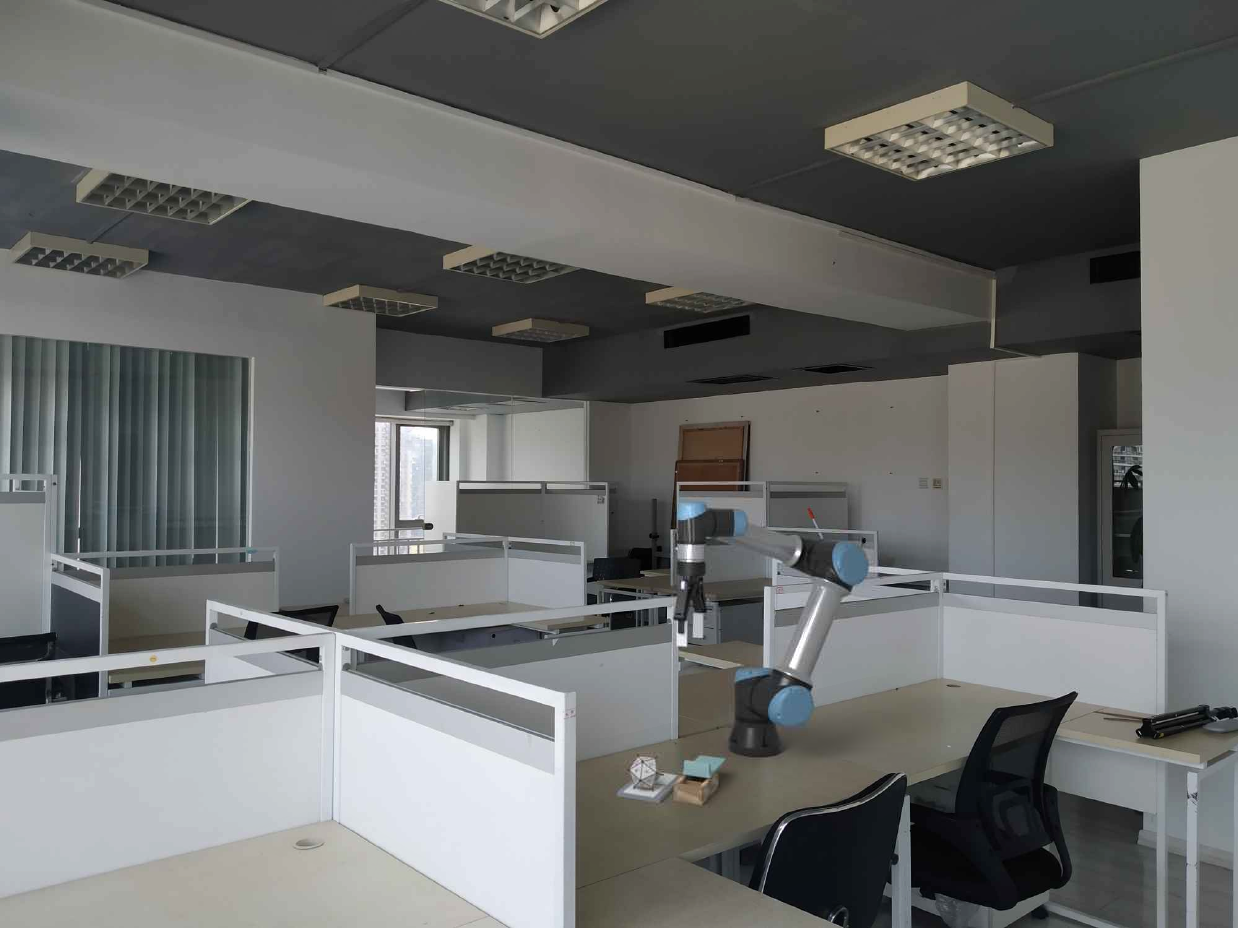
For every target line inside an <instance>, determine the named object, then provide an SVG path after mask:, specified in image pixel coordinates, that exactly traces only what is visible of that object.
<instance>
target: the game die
mask: <svg viewBox="0 0 1238 928" xmlns="http://www.w3.org/2000/svg"><path fill="white" fill-rule="evenodd" d="M636 756H637V757H636V759H635V761H634V762H633V764H632V765H631V766H630V768H626V769H625V770H626V772H629V773H630V777H631V780H633V782H634V785H635V786H634V787H633V789H635V787H644V788H651V789H652V791H653V792H654V789H653V787H654V785H655V784H656V782H657V781H658V779H659V778H660V776H661V775H662V776H664V774H661V773H662V772H661V769H660V767H659V764H658V762H657V758H658V755H655V757H647V756H641V755H640V754H639V753H636Z"/></svg>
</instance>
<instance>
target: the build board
mask: <svg viewBox="0 0 1238 928" xmlns="http://www.w3.org/2000/svg"><path fill="white" fill-rule="evenodd" d="M661 774H664V776H662V775H661V776H660V778H659V779H658V781H657V782H656V784H655V785H654V787H653V789H654V792H653V791H652V789H651V788H644V787H635V789H633V787H634V786H635V785H634V782H633V780H632V779H631V780H630V781H629V782H627V784H625V785H624V786H623V787H622V788H620V789H619V790H618V791H617V792H616V797H618V798H625V799H626V798H627V799H632V800H638V801H644V802H650V803H656V804H660V803H661V802H662V801H663V800H665V799H666V798H667V796H669V795H670V794H671V793H672V792H674V783H675V782H677V781H678V780H679V779H680V778H681V777H682V776H683V775H678V774H672V773H665V772H661Z"/></svg>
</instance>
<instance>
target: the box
mask: <svg viewBox="0 0 1238 928" xmlns="http://www.w3.org/2000/svg"><path fill="white" fill-rule="evenodd" d="M681 776H682V777H681V778H680V779H679V780H678V781H677V782H675V783H674V790H673V801H674V802H680V803H686V804H693V805H698V806H703V804H704V803H705V802H706V801H707V800H708V799H709V798H710V797H711V795H713V794H714V792H715V791H716V790H717V789H718V788H719V770H718V771H717V772H716V773H715V774H714V775H713V776H712V777H711V778H705V777H698V776H691V775H684V774H682V775H681Z"/></svg>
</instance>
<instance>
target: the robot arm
mask: <svg viewBox="0 0 1238 928" xmlns="http://www.w3.org/2000/svg"><path fill="white" fill-rule="evenodd" d="M677 507H678V508H677V515H676V516H677V517H676V520H677V521H676V522H677V531H676V532H677V540H676V542H677V544H676V545H677V546H676V547H675V550H676V551H677V553H676V555H677V557H676V558H677V559H678V560H677V562H676V574H677V575H678V576H682V578H683V580H678V583H677V584H678V585H677V594H676V601H675V606H674V607H675V608H674V612H673V618H672V620H673V621H676V646H675V647H685V648H687V647H688V645H689V644H688V643H689V642H688V641H689V640H688V639H689V638H688V634H689V631H688V629H689V628H688V627H689V620H688V614H689V610H690V606H691V603H692V606H693V611H694V612H693V614H692V638H696V639H697V638H698V639H704V635H705V634H704V629H705V627H704V626H705V625H704V624H705V623H704V621H705V614H707V613H708V609H707V600H706V594H705V587H704V576H705V575H706V574H707V573H706V570H707V566H706V564H707V563H706V561H705V560H706V559H707V538H711V539H714V540H717V541H720V542H723V543H727V544H729V545H731V546H732V545H733V546H734V547H737V548H738V547H739V548H742V549H744V550H747V551H750V552H752V553H753V552H754V553H756V554H760V555H762V556H764V557H768V558H771V559H775V560H777V561H780V562H781V563H782V565H783V566H785V567H788V568H790V569H793V570H796V571H799V573H800V572H801V573H803V574H805V575H808V576H810V581H811V583H812V588H811V591H810V593H809V595H808V598H807V600H806V604H805V605H804V608H803V610H802V613H801V615H800V618H799V620H798V623H797V624H796V627H795V629H794V632H793V635H792V637H791V639H790V642H789V644H788V647H787V649H786V652H785V654H784V657H783V659H782V662H781V663H780V664H779V665H777V666H774V667H772V668H771V667H745V668H739V669H737V670H736V672H735V675H734V676H735V677H734V682H733V683H734V720H733V721H734V722H733V724H732V727H731V729H730V733H729V736H728V739H727V748H728V750H729V751H731V752H732V753H735V754H738V755H742V756H747V757H771V756H776V755H778V754H780V753H781V751H782V741H781V737H780V734H779V730H778V727H777V726H779V727H784V728H788V729H795V728H798V727H800V726H803V725H804V724H805V723H806V722H807V721H808V720H809V719H810V717H811V716H812V713H813V711H814V706H815V704H814V703H815V702H814V700H813V699H814V698H813V695H812V691H813V690H812V689H813V688H814V683H813V682H812V679H811V677H812V674H813V672H814V669H815V666H816V664H817V662H818V660H819V657H820V654H821V652H822V649H823V647H824V645H825V643H826V640H827V637H828V635H829V633H830V630H831V628H832V625H833V622H834V620H835V617H836V615H837V614H838V611H839V608H840V605H841V603H842V601H843V599H844V598H846V597H849V596H850V595H851V593H852V591H853V588H854V586H857V585H859V584H861V583H863V582H864V581H865V580H866V578H867V576H868V574H869V568H870V566H869V565H870V563H869V559H868V557H867V553H866V551H865V550H864V549H863V547H861V546H860V545H859V544H857V543H855V542H849V541H848V540H833V539H827V538H826V539H825V538H809V537H804V536H800V535H797V534H792V535H786V534H783V533H780V532H778V531H774V530H771V529H769V528H767V527H766V528H765V527H763V526H760V525H757V524H754V523H751V522H749V521H748V520H749V519H748V516H747V513H746V512H745V510H743V509H740V508H738V509H737V508H732V507H731V508H719V507H718V508H717V507H716V508H715V507H707V503H706V502H705V501H701V500H700V501H695V500H694V501H692V500H688V501H687V500H685V501H683V500H682V501H680V502H679V503H678V506H677Z"/></svg>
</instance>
